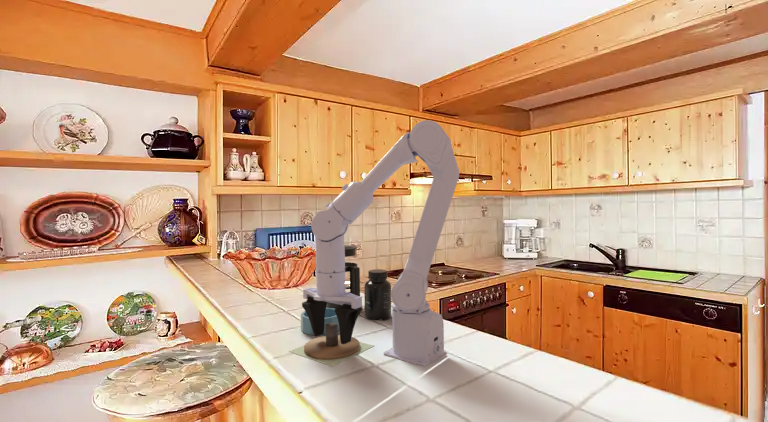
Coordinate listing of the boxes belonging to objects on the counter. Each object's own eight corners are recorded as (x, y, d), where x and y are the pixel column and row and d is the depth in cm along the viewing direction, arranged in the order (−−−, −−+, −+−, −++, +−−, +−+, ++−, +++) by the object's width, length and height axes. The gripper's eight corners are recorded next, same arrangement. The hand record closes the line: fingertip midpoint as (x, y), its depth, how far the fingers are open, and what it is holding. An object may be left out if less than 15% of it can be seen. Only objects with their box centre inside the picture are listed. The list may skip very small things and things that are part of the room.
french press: (316, 307, 110) (315, 226, 109) (341, 300, 117) (340, 224, 116) (345, 314, 102) (344, 227, 101) (370, 307, 109) (368, 225, 108)
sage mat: (374, 347, 79) (374, 345, 79) (332, 367, 69) (332, 366, 69) (332, 335, 86) (332, 334, 86) (288, 352, 77) (288, 351, 77)
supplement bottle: (359, 319, 98) (358, 271, 98) (373, 312, 104) (372, 267, 104) (383, 323, 95) (383, 273, 94) (396, 315, 101) (395, 269, 100)
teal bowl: (348, 328, 91) (348, 311, 91) (321, 339, 84) (320, 321, 84) (321, 321, 97) (321, 305, 97) (293, 331, 89) (293, 314, 89)
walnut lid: (370, 345, 79) (370, 322, 79) (332, 364, 70) (331, 338, 70) (331, 335, 85) (331, 313, 85) (292, 351, 77) (291, 327, 77)
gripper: (291, 270, 79) (292, 337, 79) (343, 278, 70) (344, 353, 70) (317, 265, 84) (318, 327, 85) (368, 272, 75) (369, 341, 76)
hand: (331, 338), depth 78 cm, fingers open, 7 cm apart
